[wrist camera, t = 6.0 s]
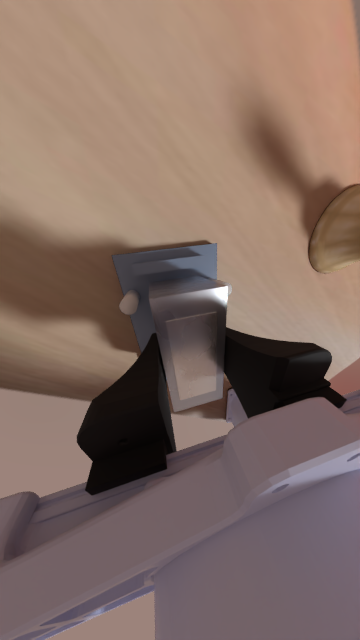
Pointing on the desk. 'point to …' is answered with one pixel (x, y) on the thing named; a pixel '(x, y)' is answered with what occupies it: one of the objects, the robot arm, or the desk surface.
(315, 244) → the hand bell
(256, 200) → the desk surface
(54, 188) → the desk surface
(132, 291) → the grey peg stand
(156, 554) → the robot arm
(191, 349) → the block
